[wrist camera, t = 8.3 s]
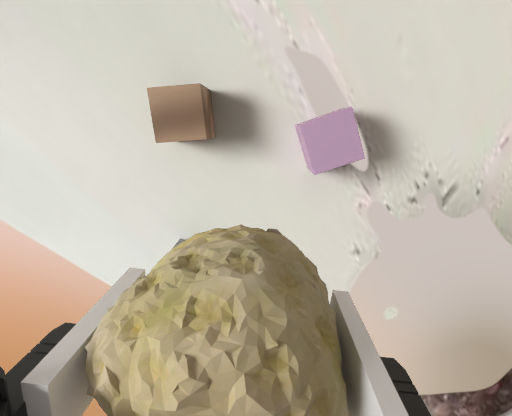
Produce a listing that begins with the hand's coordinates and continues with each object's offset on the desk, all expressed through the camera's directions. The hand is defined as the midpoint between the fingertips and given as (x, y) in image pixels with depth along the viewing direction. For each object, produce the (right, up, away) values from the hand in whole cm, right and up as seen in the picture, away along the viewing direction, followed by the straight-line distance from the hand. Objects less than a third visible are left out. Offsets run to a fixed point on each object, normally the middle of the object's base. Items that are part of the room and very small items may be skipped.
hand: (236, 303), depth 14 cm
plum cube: (+9, +13, +18) cm, 23 cm away
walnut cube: (-6, +15, +17) cm, 24 cm away
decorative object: (0, 0, +1) cm, 1 cm away
